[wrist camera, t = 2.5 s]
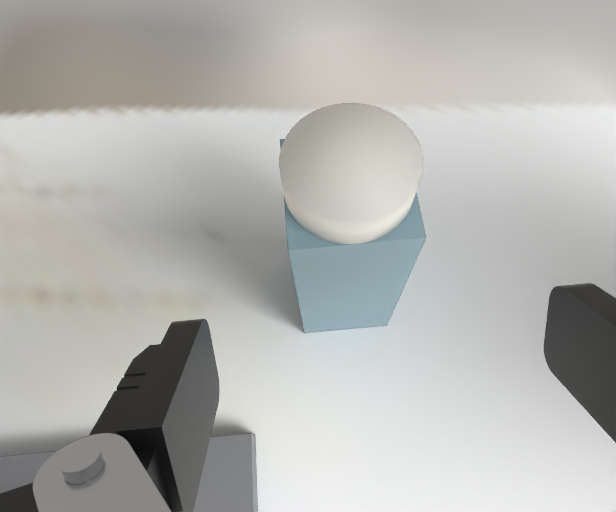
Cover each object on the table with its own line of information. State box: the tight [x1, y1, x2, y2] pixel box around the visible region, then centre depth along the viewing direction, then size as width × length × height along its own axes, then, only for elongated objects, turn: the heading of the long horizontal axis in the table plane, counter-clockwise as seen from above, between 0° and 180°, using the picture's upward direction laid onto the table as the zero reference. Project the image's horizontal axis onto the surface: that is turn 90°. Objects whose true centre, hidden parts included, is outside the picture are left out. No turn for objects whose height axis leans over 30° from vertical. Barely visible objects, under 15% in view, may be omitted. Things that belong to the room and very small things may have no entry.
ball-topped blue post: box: [279, 103, 426, 333], centre depth 19 cm, size 4×4×12 cm
